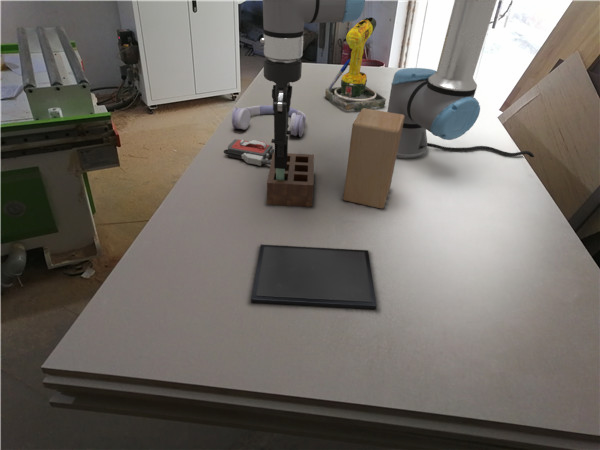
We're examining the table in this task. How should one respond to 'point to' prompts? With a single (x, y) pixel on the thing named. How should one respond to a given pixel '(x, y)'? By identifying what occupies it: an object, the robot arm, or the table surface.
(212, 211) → the table surface
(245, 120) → the headphones
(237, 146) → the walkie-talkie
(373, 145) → the wooden block
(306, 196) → the pen block
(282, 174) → the stylus
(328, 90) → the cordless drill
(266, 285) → the tablet
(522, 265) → the table surface
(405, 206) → the table surface
